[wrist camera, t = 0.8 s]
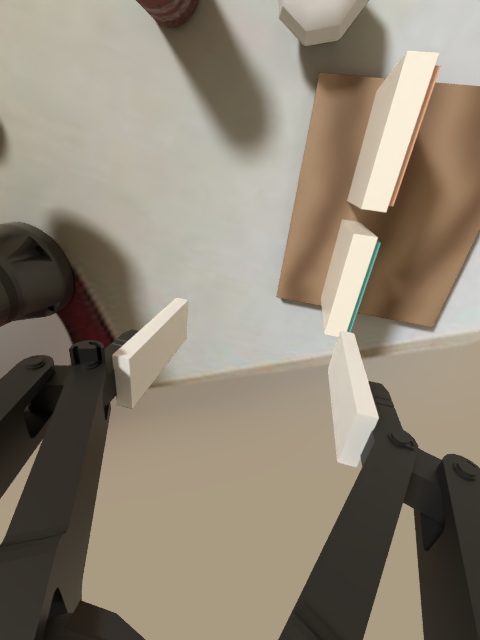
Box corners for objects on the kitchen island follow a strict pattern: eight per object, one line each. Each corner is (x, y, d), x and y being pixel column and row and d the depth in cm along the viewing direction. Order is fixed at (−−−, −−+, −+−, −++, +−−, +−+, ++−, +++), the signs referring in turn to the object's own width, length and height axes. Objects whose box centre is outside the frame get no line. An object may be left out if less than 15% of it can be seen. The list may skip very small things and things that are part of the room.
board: (277, 293, 41) (276, 297, 39) (319, 77, 30) (319, 72, 29) (428, 322, 38) (432, 327, 37) (534, 96, 27) (546, 92, 26)
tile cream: (347, 200, 33) (361, 208, 24) (376, 90, 28) (407, 50, 19) (369, 204, 32) (392, 213, 24) (403, 93, 28) (447, 53, 19)
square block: (320, 298, 38) (324, 334, 29) (342, 219, 34) (353, 233, 25) (340, 302, 38) (349, 339, 29) (364, 222, 33) (384, 238, 25)
